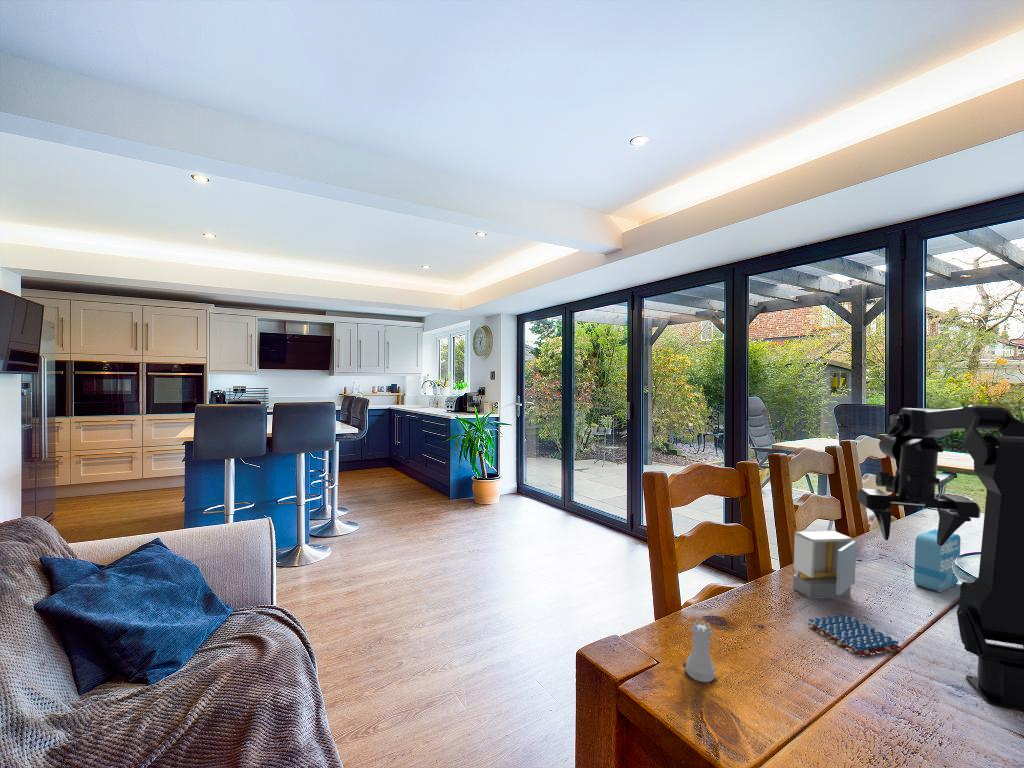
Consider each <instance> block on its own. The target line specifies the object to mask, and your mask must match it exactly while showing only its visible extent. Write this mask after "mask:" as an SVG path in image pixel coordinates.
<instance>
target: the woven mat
mask: <svg viewBox="0 0 1024 768" xmlns="http://www.w3.org/2000/svg"><path fill="white" fill-rule="evenodd" d="M808 621H809V623H807V625H808V628H809V629H811V630H816V631H815V632H816V633H817V634H818V633H819V634H820V636H823V637H826V636H827V637H826V639H828V640H830V642H831V643H832V642H833V643H832V644H836V645H837V646H839V647H842V646H844V647H847V648H849V649H847V651H848V652H849V653H850V652H851V653H850V654H856V655H857V654H858V655H857V656H863V655H868V656H869V657H870V656H872V655H871V653H872V654H873V653H875V654H874V655H879V654H878V653H877V652H886V653H892V652H896V651H900V650H901V649H902V647H901V646H899V645H898V644H900V643H899V640H896V639H894V638H892V637H890V636H888V635H886V634H884V633H883V632H881V631H878V630H876V628H874V627H873V628H872V627H870V626H869V625H867V624H866V623H863V622H862V621H859V620H858V619H855V618H854V617H852V616H850V615H845V614H840V616H838V615H836V614H835V615H833V616H830V615H828V616H827V617H824V616H822V617H821V618H817V617H815V619H811V618H808ZM810 622H811V623H810ZM834 642H836V643H834ZM846 644H847V645H846ZM840 645H842V646H840ZM876 651H877V652H876ZM854 652H856V653H854ZM857 656H856V657H857ZM868 656H867V657H868Z"/></svg>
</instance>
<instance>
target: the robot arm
mask: <svg viewBox="0 0 1024 768" xmlns="http://www.w3.org/2000/svg"><path fill="white" fill-rule="evenodd" d="M886 430H887V433H886V434H884V435H883V436H882V437H881V439H880V441H879V443H878V447H879V449H880V451H881V452H882V453H883V455H885V456H887V457H889V458H892V459H894V460H895V461H898V462H899V469H898V468H896V471H895V474H894V475H890V472H889V471H876V472H875V473H876V474H875V486H877V487H881V488H882V487H883V488H885V491H886V492H888V493H891V494H896V495H891V494H887V493H885V492H883V491H882V490H881V489H874V488H864V487H862V488H860V489H859V490H858V491H857V492H856V501H857V502H859V503H860V505H861V504H862V505H863V506H864V507H865V508H867V509H869V510H870V511H871V512H873V515H874V517H875V519H876V520H877V523H878V525H879V529H880V532H881V535H882V538H883V539H884V540H885V541H889V538H890V536H891V535H890V534H891V524H892V523H891V522H892V514H893V513H892V511H890V510H889V509H890V508H891V507H892V506H891V505H893V506H904V507H913V508H914V507H915V508H929V509H936V510H937V512H938V513H937V514H938V519H939V520H938V525H937V530H938V532H937V544H938V545H939V546H943V545H944V543H945V542H946V541H947V540H948V539H949V537H950V536H951V535H952V534H955V532H956V531H957V530H958V529H959V528H960V527H961V526H963V525H964V524H965V523H966V522H971V521H972V519H973V518H974V519H979V518H981V510H982V509H981V507H980V505H979V504H978V503H977V502H975V501H973V500H971V499H969V498H967V497H965V496H963V495H958V494H957V495H955V494H954V495H953V494H941V495H940V496H939V497H938V498H937V497H935V495H936V485H937V484H939V485H940V481H941V480H940V478H939V477H937V474H938V473H937V470H938V456H939V454H938V453H943V452H944V449H943V447H942V446H941V445H940V444H939V443H938V442H937V439H938V438H943V437H945V436H949V435H951V432H953V431H954V432H955V431H956V432H957V431H966V433H965V436H964V437H963V442H962V445H963V447H964V449H966V451H967V453H968V454H969V455H970V457H971V458H972V460H973V473H974V474H975V475H976V476H977V477H978V479H979V480H980V482H981V483H982V485H983V486H984V488H985V490H986V495H985V506H984V516H983V524H982V525H983V527H982V538H981V547H980V548H981V549H980V557H979V567H978V568H979V569H978V577H977V578H976V579H975V580H974V581H972V582H971V581H970V582H969V581H962V582H961V584H960V585H959V598H958V602H957V605H958V607H957V610H956V617H957V622H958V623H957V624H958V628H959V635H960V639H961V643H962V644H963V645H964V650H965V651H967V652H968V653H971V654H973V655H975V656H977V676H973V675H965V679H966V680H967V682H968V683H969V684H970V685H971V686H972V687H973V689H974V690H975V691H976V692H978V694H980V696H981V697H982V698H983V699H984V700H985V702H987V703H988V704H991V705H994V706H999V707H1003V708H1007V709H1011V710H1012V709H1013V710H1016V711H1017V710H1018V711H1022V712H1024V421H1022V420H1020V419H1018V418H1017V417H1015V416H1014V415H1013V414H1012V413H1011V411H1009V409H1008V408H1007V407H1002V406H999V405H982V404H981V405H978V404H977V405H976V404H975V405H974V404H970V405H968V406H966V405H965V406H963V407H956V408H955V407H954V408H947V409H946V408H945V409H941V408H919V407H918V408H917V407H915V408H914V407H913V408H912V407H902V408H901V409H900V410H899V412H898V413H896V415H895V417H894V419H893V421H892V422H891V423H890V424H889V425H888V427H887V428H886ZM979 430H981V431H982V430H983V431H986V430H987V431H997V432H998V433H999V434H1000V435H991V434H985V436H982V434H981V433H980V432H979ZM987 640H988V641H994V642H1000V643H1001V642H1002V643H1005V644H1013V645H1021V646H1022V647H1018V646H1011V645H1003V644H997V643H990V642H987Z"/></svg>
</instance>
